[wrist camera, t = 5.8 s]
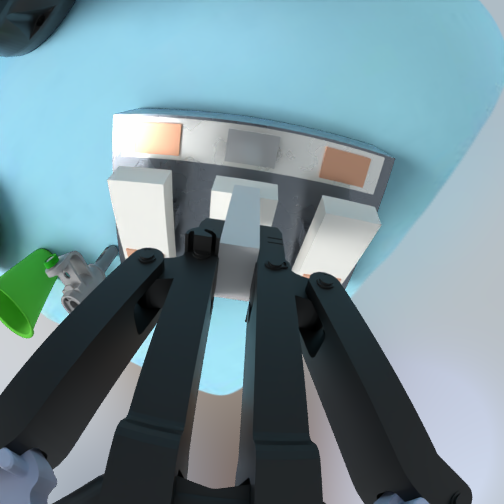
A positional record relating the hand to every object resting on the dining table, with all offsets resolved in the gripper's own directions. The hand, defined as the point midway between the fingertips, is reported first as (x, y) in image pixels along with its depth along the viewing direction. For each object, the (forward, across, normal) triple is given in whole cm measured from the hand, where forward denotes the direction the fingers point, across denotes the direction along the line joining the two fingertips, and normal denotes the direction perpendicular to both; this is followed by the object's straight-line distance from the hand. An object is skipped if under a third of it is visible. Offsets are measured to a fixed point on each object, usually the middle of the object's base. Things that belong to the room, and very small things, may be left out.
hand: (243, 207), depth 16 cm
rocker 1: (+2, -7, -3) cm, 8 cm away
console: (+10, 0, -3) cm, 10 cm away
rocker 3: (+2, +7, -3) cm, 8 cm away
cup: (+10, -27, -16) cm, 33 cm away
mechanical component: (+10, -15, -12) cm, 21 cm away
